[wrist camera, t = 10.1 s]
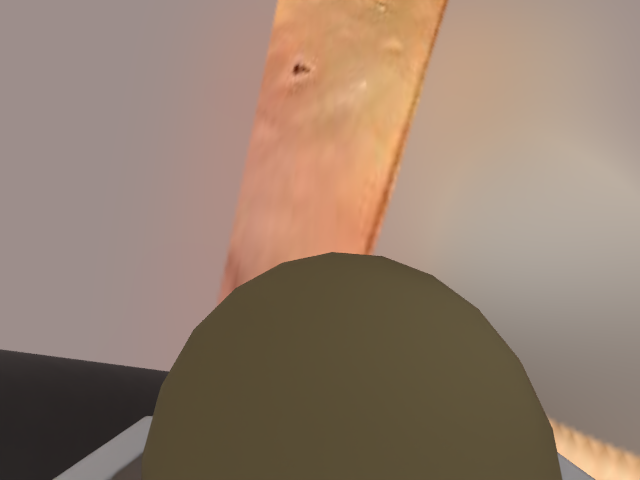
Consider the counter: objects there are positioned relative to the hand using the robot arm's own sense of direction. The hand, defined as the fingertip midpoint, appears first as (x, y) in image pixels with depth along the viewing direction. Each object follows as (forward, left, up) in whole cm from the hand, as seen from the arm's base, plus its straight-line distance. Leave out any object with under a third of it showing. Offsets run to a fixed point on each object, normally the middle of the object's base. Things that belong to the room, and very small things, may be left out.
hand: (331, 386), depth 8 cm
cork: (0, -1, -6) cm, 6 cm away
